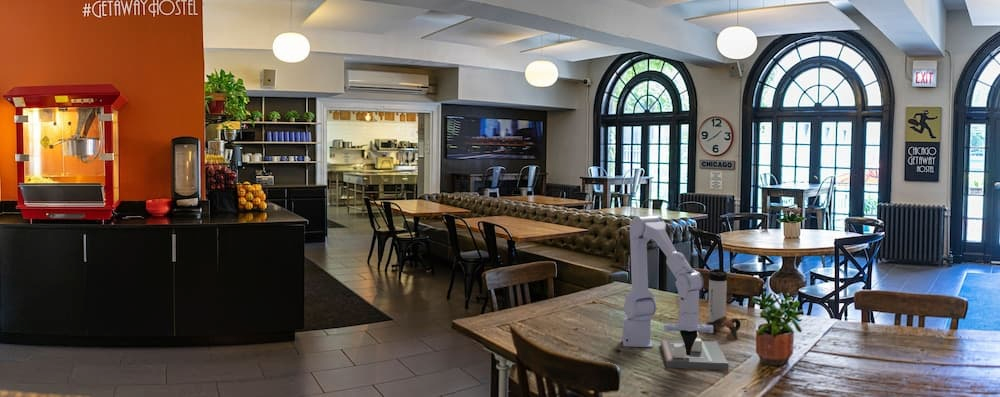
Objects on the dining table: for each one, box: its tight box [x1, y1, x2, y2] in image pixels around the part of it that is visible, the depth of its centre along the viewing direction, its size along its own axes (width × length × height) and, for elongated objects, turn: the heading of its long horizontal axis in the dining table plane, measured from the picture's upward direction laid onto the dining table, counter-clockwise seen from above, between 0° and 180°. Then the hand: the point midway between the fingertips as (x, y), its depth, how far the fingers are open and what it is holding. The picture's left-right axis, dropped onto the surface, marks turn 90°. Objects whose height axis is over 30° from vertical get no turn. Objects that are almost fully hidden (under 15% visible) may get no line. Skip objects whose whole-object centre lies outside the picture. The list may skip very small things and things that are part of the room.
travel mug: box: [707, 268, 728, 327], centre depth 262 cm, size 6×7×20 cm
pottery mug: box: [706, 315, 741, 342], centre depth 247 cm, size 12×10×8 cm
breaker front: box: [673, 344, 685, 358], centre depth 217 cm, size 3×3×3 cm
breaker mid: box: [691, 337, 703, 352], centre depth 223 cm, size 3×3×3 cm
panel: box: [660, 339, 729, 371], centre depth 224 cm, size 18×22×2 cm
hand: (687, 354), depth 217 cm, fingers closed
